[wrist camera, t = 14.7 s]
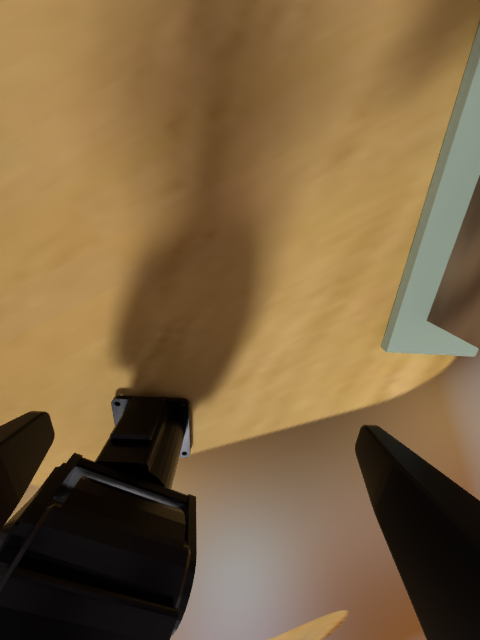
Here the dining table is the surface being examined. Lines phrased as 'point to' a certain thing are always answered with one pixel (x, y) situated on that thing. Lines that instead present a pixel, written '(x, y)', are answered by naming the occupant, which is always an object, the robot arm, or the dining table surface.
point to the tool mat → (440, 228)
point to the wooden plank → (462, 281)
